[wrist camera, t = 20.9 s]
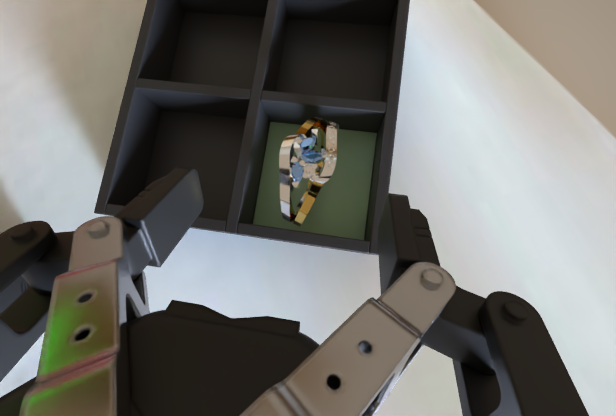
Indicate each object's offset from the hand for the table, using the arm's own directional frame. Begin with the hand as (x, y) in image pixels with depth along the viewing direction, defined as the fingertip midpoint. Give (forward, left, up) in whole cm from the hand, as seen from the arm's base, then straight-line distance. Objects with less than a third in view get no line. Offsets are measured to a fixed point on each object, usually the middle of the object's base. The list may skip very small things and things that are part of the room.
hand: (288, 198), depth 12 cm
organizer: (-5, +8, -11) cm, 14 cm away
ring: (0, +3, -10) cm, 11 cm away
